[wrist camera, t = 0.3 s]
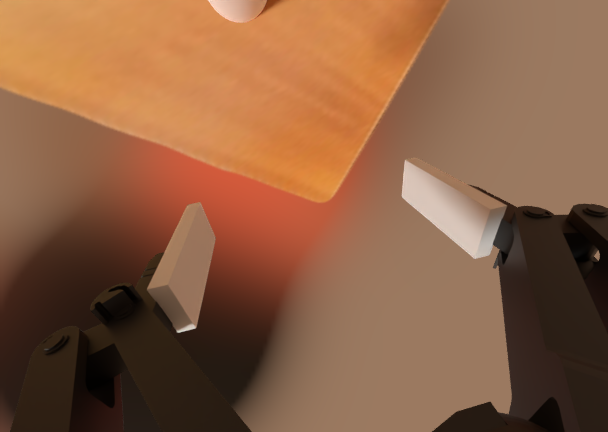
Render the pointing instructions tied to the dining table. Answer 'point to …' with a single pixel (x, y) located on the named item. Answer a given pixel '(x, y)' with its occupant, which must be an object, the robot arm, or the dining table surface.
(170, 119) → the dining table surface
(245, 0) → the cup
